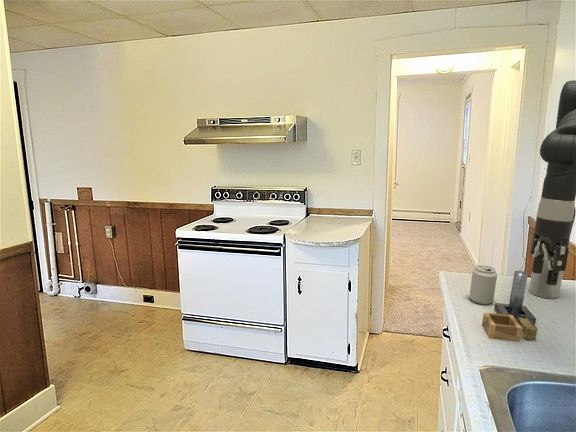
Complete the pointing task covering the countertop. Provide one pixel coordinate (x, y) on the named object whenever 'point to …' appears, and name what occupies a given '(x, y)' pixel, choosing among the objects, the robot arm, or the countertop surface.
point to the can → (483, 284)
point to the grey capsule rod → (517, 292)
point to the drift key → (527, 329)
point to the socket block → (525, 313)
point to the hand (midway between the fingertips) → (543, 278)
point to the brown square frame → (501, 326)
